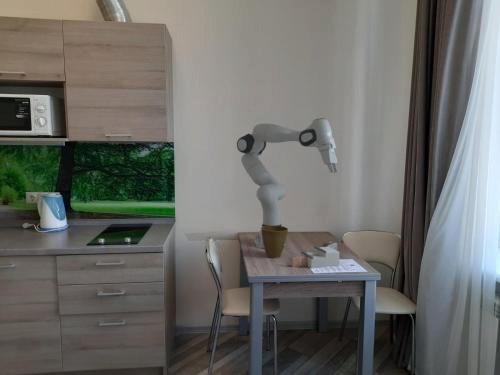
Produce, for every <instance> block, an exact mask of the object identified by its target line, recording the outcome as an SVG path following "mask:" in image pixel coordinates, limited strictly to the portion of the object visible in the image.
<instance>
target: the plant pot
mask: <svg viewBox="0 0 500 375" xmlns="http://www.w3.org/2000/svg"><path fill="white" fill-rule="evenodd" d="M260 231H262V238H263V243H264V248H263V249H264V251H265V253H266V256H267V257H268V258H270V259H278V258H280V257H281V255H282V254H283V251H284V248H285V246H286V245H285V244H286V240H287V237H288V232H289V228H288V227H286V226H282V225H281V226H263V227H262V226H261V228H260ZM284 245H285V246H284Z"/></svg>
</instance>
